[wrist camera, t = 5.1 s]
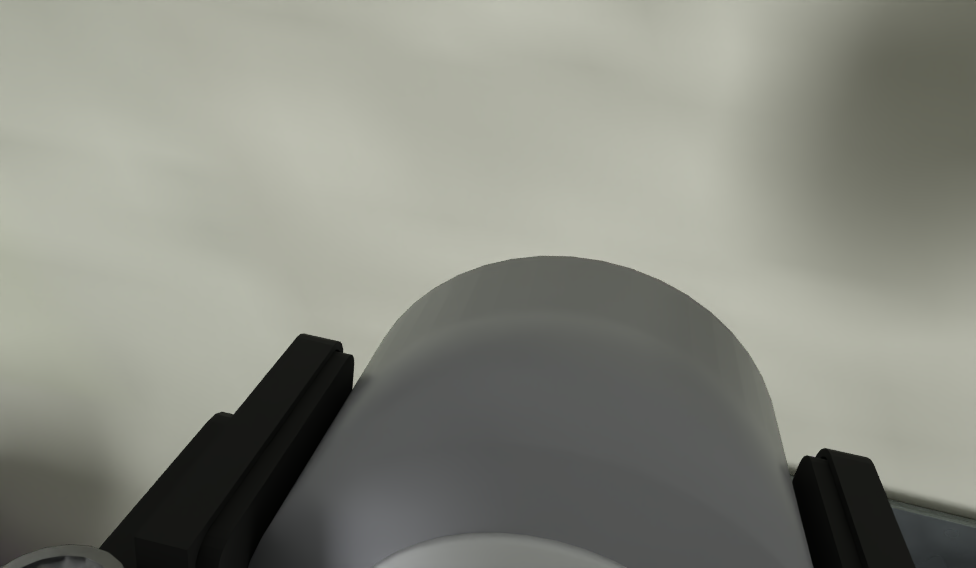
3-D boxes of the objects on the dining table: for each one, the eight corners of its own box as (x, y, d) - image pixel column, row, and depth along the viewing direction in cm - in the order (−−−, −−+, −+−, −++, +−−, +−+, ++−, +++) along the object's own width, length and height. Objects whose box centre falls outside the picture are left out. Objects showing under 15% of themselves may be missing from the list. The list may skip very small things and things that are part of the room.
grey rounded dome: (378, 215, 10) (230, 384, 7) (840, 308, 10) (956, 550, 6) (351, 547, 13) (236, 796, 9) (712, 635, 12) (739, 940, 9)
